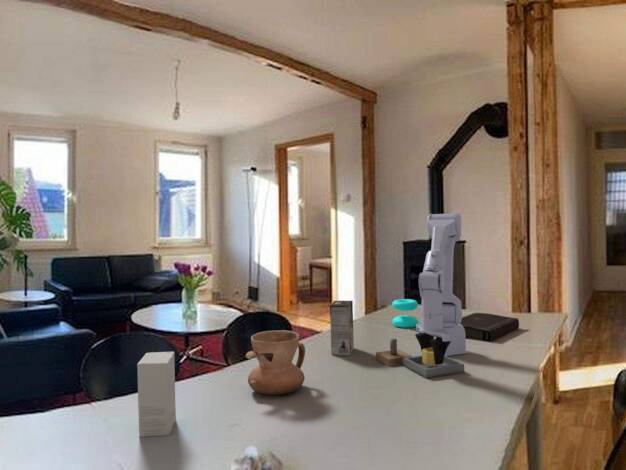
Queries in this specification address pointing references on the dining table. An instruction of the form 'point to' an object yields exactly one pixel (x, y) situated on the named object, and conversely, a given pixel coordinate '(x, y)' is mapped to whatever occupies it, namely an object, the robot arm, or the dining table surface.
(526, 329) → the dining table surface
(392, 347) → the block
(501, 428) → the dining table surface
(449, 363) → the tray
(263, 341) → the ceramic jug
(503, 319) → the diary
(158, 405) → the skincare box
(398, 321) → the donuts
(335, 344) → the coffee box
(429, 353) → the ring
